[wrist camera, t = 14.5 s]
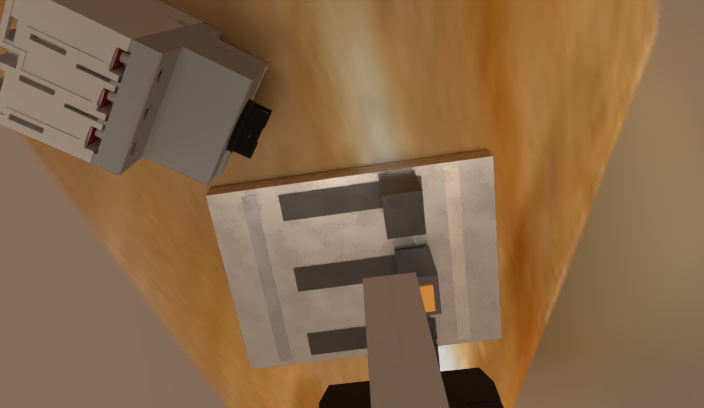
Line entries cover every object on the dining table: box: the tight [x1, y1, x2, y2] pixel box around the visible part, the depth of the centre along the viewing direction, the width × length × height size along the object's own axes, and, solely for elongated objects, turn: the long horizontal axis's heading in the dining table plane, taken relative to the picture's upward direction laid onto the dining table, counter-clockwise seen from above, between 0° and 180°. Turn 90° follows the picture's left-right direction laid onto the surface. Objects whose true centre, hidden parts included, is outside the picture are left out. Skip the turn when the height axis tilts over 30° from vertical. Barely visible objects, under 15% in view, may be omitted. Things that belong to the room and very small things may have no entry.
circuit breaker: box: [0, 0, 272, 185], centre depth 36 cm, size 8×14×15 cm, turn 64°
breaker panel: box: [206, 149, 502, 369], centre depth 46 cm, size 18×24×7 cm
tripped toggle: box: [395, 246, 442, 316], centre depth 45 cm, size 4×3×5 cm
